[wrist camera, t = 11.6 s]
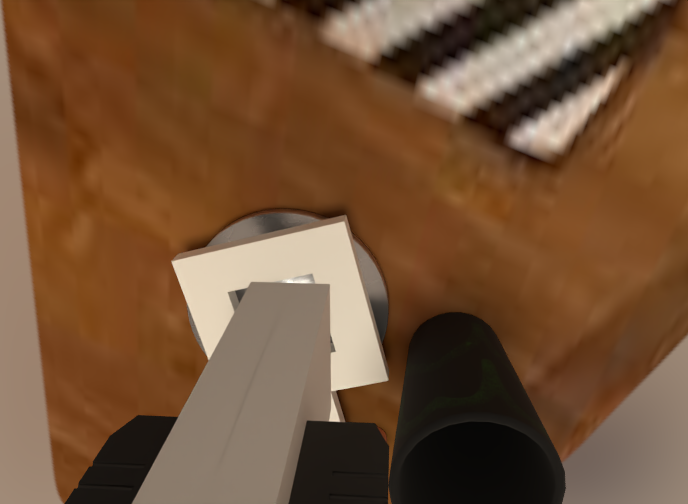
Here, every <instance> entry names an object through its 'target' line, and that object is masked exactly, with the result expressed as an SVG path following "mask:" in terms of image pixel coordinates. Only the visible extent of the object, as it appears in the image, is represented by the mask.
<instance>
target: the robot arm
mask: <svg viewBox="0 0 688 504" xmlns="http://www.w3.org/2000/svg"><path fill="white" fill-rule="evenodd" d="M330 412H331V342H330V284H313V283H278V282H251V283H250V285H249V286H248V288H247V290H246V292H245V294H244V296H243V298H242V299H241V301H240V303H239V305H238V307H237V309H236V311H235V312H234V314H233V316H232V318H231V320H230V322H229V324H228V326H227V327H226V329H225V331H224V333H223V335H222V337H221V339H220V340H219V342H218V344H217V346H216V348H215V350H214V352H213V353H212V355H211V357H210V359H209V361H208V363H207V365H206V367H205V368H204V370H203V372H202V374H201V376H200V378H199V380H198V381H197V383H196V385H195V387H194V389H193V391H192V393H191V394H190V396H189V398H188V400H187V402H186V404H185V406H184V408H183V409H182V411H181V413H180V415H179V417H166V416H144V415H138V416H136V417H135V418H134V419H132V420H131V421H130V422H128V423H127V424H126V425H124V426H123V427H122V428H120V429H119V430H117V431H116V432H115V433H113V434H112V435H111V436H110V437H109V438H108V440H107V441H106V443H105V444H104V446H103V447H102V449H101V450H100V452H99V453H98V455H97V456H96V458H95V459H94V461H93V466H92V467H89V468H88V470H87V471H86V473H85V474H84V476H83V477H82V479H81V480H80V481H79V485H78V488H77V489H74V490H73V492H72V493H71V495H70V496H69V498H68V499H67V501H66V502H65V504H388V471H389V446H388V444H387V443H386V441H385V439H384V438H383V436H382V434H381V433H380V431H379V429H378V427H377V426H376V424H375V423H354V422H332V421H329V418H330Z"/></svg>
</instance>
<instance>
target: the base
mask: <svg viewBox="0 0 688 504" xmlns="http://www.w3.org/2000/svg"><path fill="white" fill-rule="evenodd" d="M325 219H329V218H327V217H324V216H322V215H319V214H316V213H313V212H308V211H303V210H298V209H270V210H264V211H259V212H256V213H252V214H249V215H246V216H244V217H242V218H240V219H238V220H236V221H234V222H232V223H231V224H229V225H228V226H226V227H225V228H224V229H222V230H221V231H220V232H219V233H218V234H217V235H216V236H215V237H214V238H213V239H212V240H211V241H210V243H209V244H208V245H207V246H206V247H209V246H214V245H218V244H222V243H226V242H231V241H235V240H239V239H244V238H248V237H252V236H257V235H261V234H265V233H269V232H274V231H278V230H282V229H287V228H291V227H295V226H299V225H304V224H308V223H312V222H317V221H321V220H325ZM351 234H352V238H353V242H354V245H355V249H356V253H357V256H358V260H359V264H360V267H361V271H362V274H363V278H364V282H365V285H366V289H367V293H368V296H369V300H370V303H371V307H372V311H373V314H374V318H375V322H376V325H377V329H378V333H379V336H380V340H381V343H382V342H383V339H384V337H385V333H386V329H387V322H388V293H387V287H386V282H385V280H384V277H383V274H382V271H381V269H380V267H379V265H378V263H377V261H376V259H375V258H374V256H373V255H372V253H371V252H370V250H369V249H368V248H367V247H366V246H365V245H364V243H363V242H362V241H361V240H360V239H359V238H358V237H356V236H355V235H354V234H353V233H352V232H351ZM276 282H278V283H313V284H315V281H314V277H313V274H308V275H303V276H299V277H294V278H290V279H285V280H280V281H276ZM246 290H247V288H244V289H239V290H235V292H236V295H237V298H238V301H239V303H240V301H241V299H242V298H243V296H244V294H245V292H246ZM187 310H188V316H189V321H190V324H191V327H192V331H193V333H194V335H195V337H196V339H197V342H198V343H199V345H200V347H201V348H202V350H203V351H204V353H205V354H206V352H205V349H204V346H203V344H202V341H201V338H200V336H199V333H198V330H197V328H196V325H195V322H194V320H193V317H192V315H191V312H190V309H189V307H188V304H187ZM330 342H331V343H333V340H332V337H331V334H330ZM206 355H207V354H206Z"/></svg>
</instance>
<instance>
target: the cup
mask: <svg viewBox="0 0 688 504" xmlns="http://www.w3.org/2000/svg"><path fill="white" fill-rule="evenodd" d="M388 486H389V492H390V498H391V502H392V504H562V501H563V497H564V493H565V489H566V487H565V471H564V468H563V466H562V463H561V460H560V458H559V455H558V453H557V451H556V449H555V447H554V445H553V443H552V442H551V440H550V438H549V436H548V434H547V432H546V430H545V428H544V426H543V424H542V422H541V420H540V418H539V416H538V415H537V413H536V411H535V409H534V407H533V405H532V403H531V401H530V399H529V397H528V395H527V393H526V391H525V390H524V388H523V386H522V384H521V382H520V380H519V378H518V376H517V374H516V372H515V370H514V368H513V366H512V364H511V363H510V361H509V359H508V357H507V355H506V353H505V351H504V349H503V347H502V345H501V343H500V341H499V339H498V337H497V336H496V334H495V333H494V331H493V330H492V328H491V327H490V326H489V325H488V324H486V323H485V322H484V321H483V320H481V319H479V318H477V317H475V316H473V315H470V314H465V313H445V314H441V315H437V316H435V317H433V318H431V319H429V320H427V321H426V322H425V323H424V324H422V325H421V326H420V327H419V328H418V329H417V331H416V332H415V333H414V335H413V337H412V339H411V342H410V345H409V352H408V358H407V365H406V371H405V378H404V384H403V391H402V397H401V404H400V411H399V417H398V424H397V430H396V437H395V443H394V450H393V456H392V463H391V470H390V477H389V485H388Z"/></svg>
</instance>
